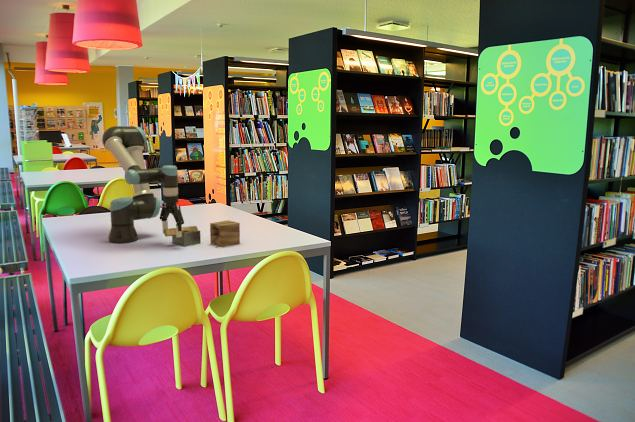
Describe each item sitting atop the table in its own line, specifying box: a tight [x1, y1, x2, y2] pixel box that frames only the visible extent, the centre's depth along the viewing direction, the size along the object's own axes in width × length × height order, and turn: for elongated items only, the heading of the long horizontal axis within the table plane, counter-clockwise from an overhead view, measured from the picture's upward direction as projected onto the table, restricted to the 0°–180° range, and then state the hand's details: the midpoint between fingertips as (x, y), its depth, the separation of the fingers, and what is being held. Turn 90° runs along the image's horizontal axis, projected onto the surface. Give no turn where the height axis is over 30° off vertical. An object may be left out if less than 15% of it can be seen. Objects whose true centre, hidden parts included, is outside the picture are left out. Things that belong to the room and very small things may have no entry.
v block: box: [171, 229, 202, 247], centre depth 270 cm, size 12×10×7 cm
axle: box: [163, 225, 199, 237], centre depth 267 cm, size 18×4×4 cm, turn 137°
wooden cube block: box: [209, 220, 241, 248], centre depth 269 cm, size 10×12×12 cm
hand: (172, 235), depth 263 cm, fingers open, 13 cm apart
